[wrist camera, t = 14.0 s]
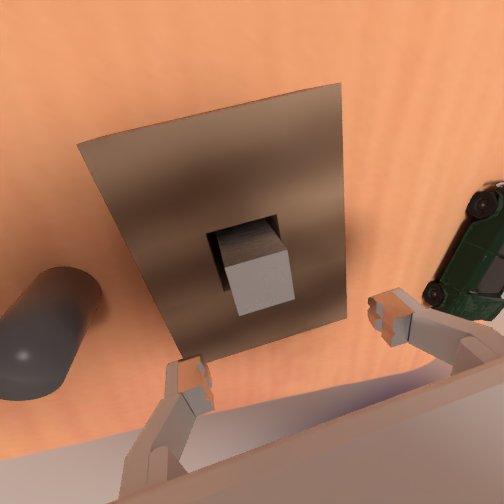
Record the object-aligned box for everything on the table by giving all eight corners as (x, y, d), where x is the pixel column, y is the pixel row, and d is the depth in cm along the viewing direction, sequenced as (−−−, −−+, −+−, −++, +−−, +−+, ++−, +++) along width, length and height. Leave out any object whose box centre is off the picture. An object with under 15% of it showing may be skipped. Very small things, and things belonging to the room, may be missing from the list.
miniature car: (414, 304, 37) (466, 349, 30) (481, 174, 29) (571, 193, 23) (463, 303, 40) (522, 344, 33) (537, 182, 32) (635, 201, 25)
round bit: (19, 277, 24) (-63, 358, 16) (83, 259, 24) (34, 330, 16) (55, 322, 26) (0, 410, 19) (111, 305, 27) (81, 384, 19)
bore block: (104, 135, 20) (76, 144, 15) (304, 89, 22) (341, 82, 16) (188, 324, 30) (188, 368, 25) (320, 283, 31) (347, 318, 26)
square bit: (211, 213, 25) (224, 267, 16) (252, 201, 25) (287, 249, 16) (222, 249, 27) (239, 316, 18) (260, 238, 27) (294, 298, 18)
